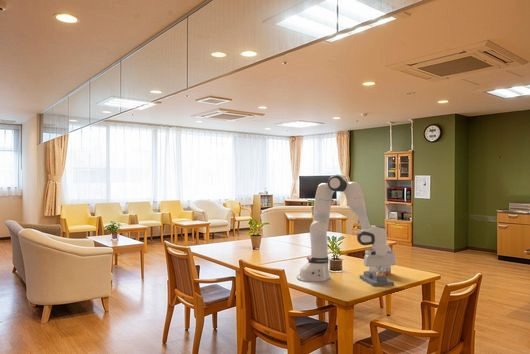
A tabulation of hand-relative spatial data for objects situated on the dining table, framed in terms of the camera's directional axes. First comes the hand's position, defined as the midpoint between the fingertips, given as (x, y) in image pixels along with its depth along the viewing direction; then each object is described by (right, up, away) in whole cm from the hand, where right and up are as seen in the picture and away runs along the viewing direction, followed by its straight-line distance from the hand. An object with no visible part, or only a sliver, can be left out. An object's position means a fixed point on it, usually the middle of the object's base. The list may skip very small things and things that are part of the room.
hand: (380, 272), depth 247 cm
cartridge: (-2, -5, +10) cm, 11 cm away
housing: (-1, -7, +5) cm, 8 cm away
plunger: (0, -3, 0) cm, 4 cm away
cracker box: (+9, -7, +23) cm, 26 cm away
